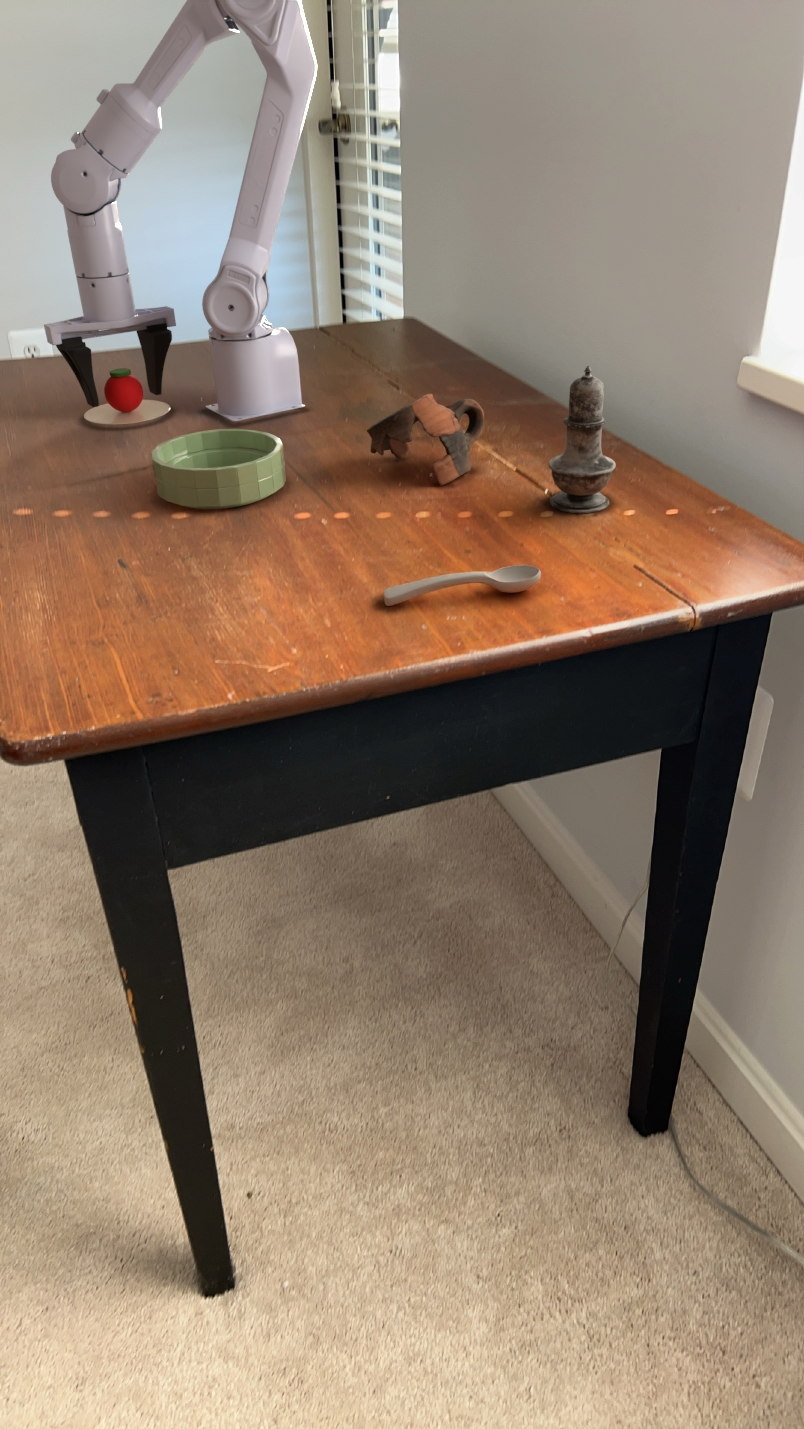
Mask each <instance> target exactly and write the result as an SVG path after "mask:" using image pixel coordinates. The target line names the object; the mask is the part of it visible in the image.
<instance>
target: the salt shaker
mask: <svg viewBox="0 0 804 1429" xmlns="http://www.w3.org/2000/svg"><path fill="white" fill-rule="evenodd" d="M583 372H584V374H583V375H582V376H580V377H577V378H576V379H574V380H573V381H572V382H571V383H570V386H569V393H568V412H567V413H568V414H567V416H566V417H564V419H563V424H565V426H566V432H565V434H566V435H565V445H564V449H563V452H562V454H560V455H557V456H554V457H552V458H551V459H550V460H549V461H548V464H547V465H548V468H549V469H550V470H551V477H552V480H553V483H554V485H555V486H556V487H557V488H558V490H560V491H558V492H557V493H555V494H554V495H553V496H551V497H550V499H549V503H550V505H551V506H552V507H553V508H554V509H556V510H558V511H561V512H566V513H572V514H592V513H596V512H600V511H603V510H605V509H606V508H608V507H609V506H610V499H609V498H608V497H607V496H606V495H604V494H603V493H601V491H602V490H603V489H605V488H606V487H607V485H608V483H609V481H610V479H611V477H612V472H613V471H614V470H615V469H616V466H617V465H616V462H615V460H614V459H612V458H610V457H608V456H606V455H603V449H602V434H603V431H602V430H603V426H604V425H606V423H607V420H606V418H605V417H603V410H604V409H603V407H604V395H605V386H604V383H603V382H602V380H601V379H599V378H598V377H595V376H594V375H593V374H591V373H592V372H593V370H592V367H590V365H587V366H586V367H585V369H584V370H583Z"/></svg>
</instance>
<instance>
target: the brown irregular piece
mask: <svg viewBox="0 0 804 1429" xmlns="http://www.w3.org/2000/svg"><path fill="white" fill-rule="evenodd" d="M464 414H466V415H467V417H468V425H467V429H465V430H463V428H462V425H461V424H460V421H461V419H462V416H463V415H464ZM416 422H419V423H420V424H421V426H422V429H423V431H424V432H425V433H427V434H428V435H429V436H430V437H432V438H439V441H440V443H441V445H442V446H443V447H444V449H445V455H444V456H443V457H442V458H440V459H439V460H437V461H435V462H434V463H432V465H431V469H432V471H433V473H434V474H435V476H436V480H437V481H438V485H439V486H444V485H446V484H449V483H450V482H453V481H454V480H455V479H458V478H459V477H460V476H463V475H464V474H467V473H469V472H470V471H471V470H472V466H471V459H470V451H471V447H473V445H474V444H475V443H476V442H477V441H478V440H479V438H480V436H481V434H482V433H483V430H484V427H485V411H484V409H483V408H482V406H481V405H480V403H478V402H477V401H476V400H474V399H472V398H462V399H459V400H457V401H456V402H453V403H452V404H449V405H445V406H444V405H442V404H439V403H437V402H436V400H435V398H434V396H433V394H432V393H427V394H424V395H423V396H421V397H420V398H418V399H416V400H414V401H412V402H411V403H409V404H408V405H405V406H403V407H402V408H400V409H398V410H396V411H395V412H392V413H391V414H389V415H387V416H385V417H384V418H382V419H380V420H378V421H377V422H375V423H374V424H372V425H370V426H369V428H367V429H366V432H367V434H368V435H369V437H370V438H371V441H370V442H371V443H370V453H371V454H376V453H378V455H380V456H384V454H385V452H386V451H390V454H392V455H393V456H394V457H395V458H396V459H398V460H401V459H402V458H403V457H404V456H406V455H407V454H408V452H409V451H410V446H409V443H411V442H413V437H412V434H411V433H412V429H413V425H415V424H416Z"/></svg>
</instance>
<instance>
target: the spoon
mask: <svg viewBox="0 0 804 1429" xmlns="http://www.w3.org/2000/svg"><path fill="white" fill-rule="evenodd" d="M541 577H542V573H541V570H540V569H539V568H538V567H536V566H535V565H530V564H516V565H509V566H503V567H500V568H498V569H495V570H493V571H481V570H480V571H466V572H454V573H447V574H440V575H435V576H431V577H426V578H422V579H419V580H414V581H411V582H410V581H409V582H406V583H401V584H397V585H394V586H393V585H392V586H390V587H387V588H385V589H384V590H383V592H382V595H383V601H384V604H385V606H387V607H390V606H395V605H399V604H400V603H403V602H406V601H409V600H411V599H414V598H416V597H417V598H418V597H419V596H423V595H425V594H429V593H432V592H436V591H439V590H443V589H448V588H451V587H455V586H461V585H467V584H480V585H481V584H482V585H485V586H489V587H492V588H494V589H496V590H497V591H499V592H502V593H507V594H509V593H510V594H512V593H513V594H514V593H520V592H524V591H526V590H529V589H532V588H533V587H534V586H537V584H538V583H539V581H540V580H541Z"/></svg>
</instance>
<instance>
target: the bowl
mask: <svg viewBox="0 0 804 1429" xmlns="http://www.w3.org/2000/svg"><path fill="white" fill-rule="evenodd" d="M284 452H285V451H284V444H283V442H282V440H281V439H280V438H279V437H278V436H276V435H274V434H272V433H269V432H266V431H260V430H256V429H246V428H218V429H217V428H216V429H210V430H200V431H195V432H191V433H185V434H182V435H178V436H176V437H173V438H169V439H167V440H165V441H163V442H161V443H159V444H157V445H156V446H155V447H154V448H153V449H152V450H151V453H150V457H151V464H152V470H153V475H154V481H155V486H156V491H157V495H158V496H159V497H160V498H161V499H163V500H164V501H165V502H169V503H172V504H175V505H178V506H181V507H185V508H189V509H197V510H198V509H199V510H221V509H229V508H231V509H232V508H236V507H242V506H245V505H250V504H253V503H256V502H260V501H262V500H264V499H266V498H267V497H269V496H271V495H273V494H276V493H277V492H278V491H279V490H280V489H282V488H283V487H284V486H285V483H286V481H287V473H286V472H287V471H286V462H285V454H284Z"/></svg>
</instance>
